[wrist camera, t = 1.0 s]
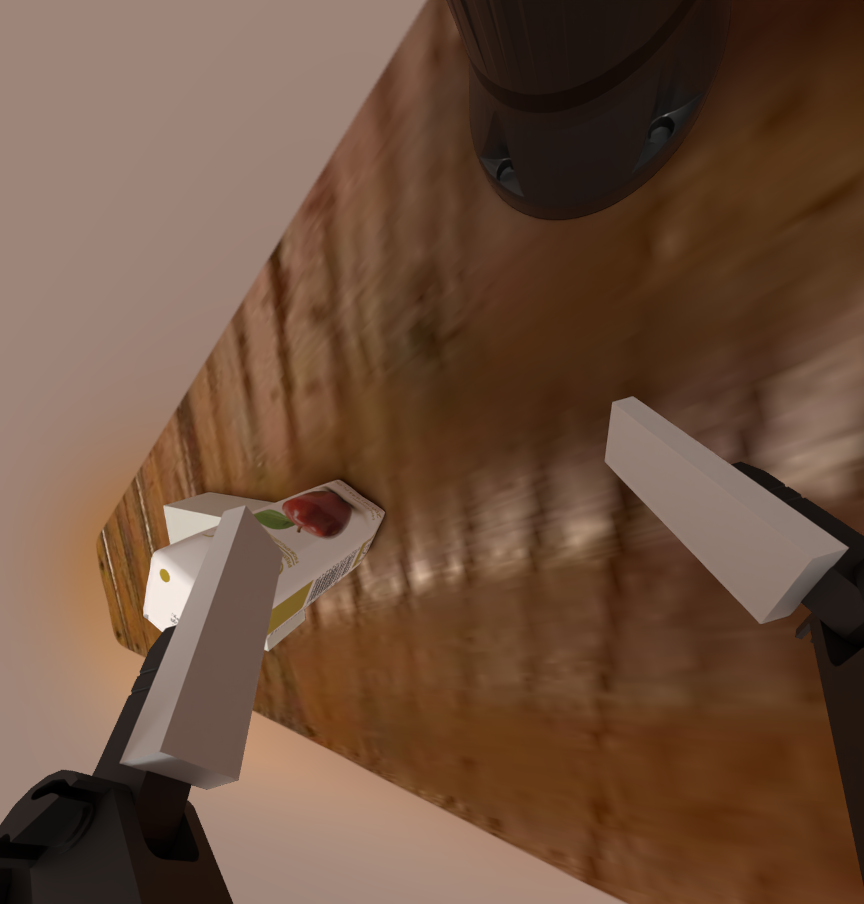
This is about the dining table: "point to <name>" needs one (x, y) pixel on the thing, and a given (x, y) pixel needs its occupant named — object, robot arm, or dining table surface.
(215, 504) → the stacking block
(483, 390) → the dining table surface
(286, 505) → the juice carton
